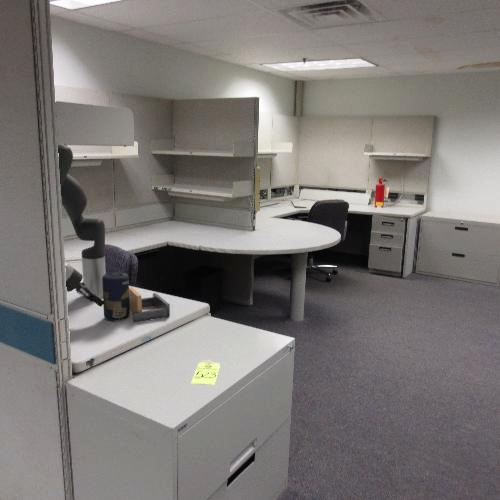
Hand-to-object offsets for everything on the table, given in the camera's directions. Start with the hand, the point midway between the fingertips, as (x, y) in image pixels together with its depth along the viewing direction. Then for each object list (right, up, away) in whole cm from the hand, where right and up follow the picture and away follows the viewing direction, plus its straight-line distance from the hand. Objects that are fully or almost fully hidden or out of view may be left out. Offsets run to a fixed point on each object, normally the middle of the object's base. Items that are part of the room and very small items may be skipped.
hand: (102, 304), depth 176 cm
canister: (+4, -6, +4) cm, 8 cm away
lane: (+14, -5, +10) cm, 17 cm away
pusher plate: (+10, -5, +8) cm, 14 cm away
